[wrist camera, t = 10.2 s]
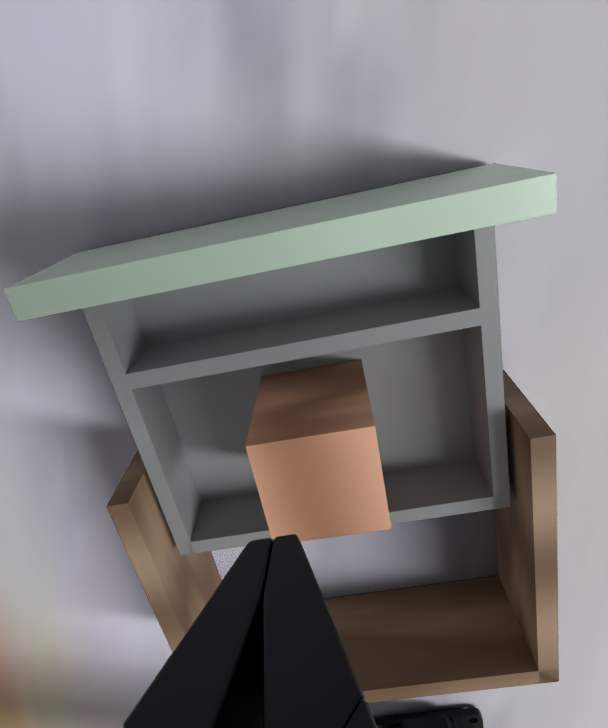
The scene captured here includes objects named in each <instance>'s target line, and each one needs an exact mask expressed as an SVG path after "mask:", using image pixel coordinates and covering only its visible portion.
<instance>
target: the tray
mask: <svg viewBox="0 0 608 728" xmlns="http://www.w3.org/2000/svg"><path fill="white" fill-rule="evenodd" d="M553 213H557V198H556V173H552V172H546V171H540V170H533V169H527V168H521V167H515V166H508V165H502V164H496V163H493V164H488V165H483V166H479V167H474V168H469V169H465V170H460V171H455V172H451V173H446V174H441V175H437V176H432V177H427V178H423V179H418V180H413V181H409V182H404V183H399V184H395V185H390V186H385V187H381V188H376V189H371V190H367V191H362V192H357V193H353V194H348V195H343V196H339V197H334V198H329V199H325V200H320V201H315V202H311V203H306V204H301V205H297V206H292V207H287V208H283V209H278V210H273V211H269V212H264V213H259V214H255V215H250V216H245V217H241V218H236V219H231V220H227V221H222V222H217V223H213V224H208V225H203V226H199V227H194V228H189V229H185V230H180V231H175V232H171V233H166V234H161V235H156V236H152V237H147V238H142V239H138V240H133V241H128V242H124V243H119V244H114V245H110V246H105V247H100V248H96V249H91V250H86V251H82V252H77V253H75V254H73V255H71V256H69V257H67V258H65V259H63V260H61V261H59V262H57V263H55V264H53V265H51V266H49V267H47V268H45V269H43V270H41V271H39V272H37V273H35V274H33V275H31V276H29V277H27V278H25V279H23V280H21V281H19V282H17V283H15V284H13V285H11V286H9V287H7V288H4V289H3V290H4V292H5V294H6V296H7V298H8V301H9V303H10V305H11V307H12V309H13V312H14V314H15V316H16V318H17V320H18V321H23V320H28V319H33V318H38V317H43V316H48V315H53V314H58V313H63V312H68V311H73V310H78V309H82V310H83V313H84V315H85V318H86V320H87V323H88V325H89V328H90V330H91V333H92V335H93V338H94V340H95V343H96V345H97V348H98V350H99V353H100V355H101V358H102V360H103V363H104V365H105V368H106V370H107V373H108V375H109V378H110V380H111V383H112V385H113V388H114V390H115V393H116V395H117V398H118V400H119V403H120V405H121V408H122V410H123V413H124V415H125V418H126V420H127V423H128V425H129V428H130V430H131V433H132V435H133V438H134V440H135V443H136V445H137V448H138V450H139V453H140V455H141V458H142V460H143V463H144V465H145V468H146V470H147V473H148V475H149V478H150V480H151V483H152V485H153V488H154V490H155V493H156V495H157V498H158V500H159V503H160V505H161V508H162V510H163V513H164V515H165V518H166V520H167V523H168V525H169V528H170V530H171V533H172V535H173V538H174V540H175V543H176V545H177V548H178V550H179V553H180V555H186V554H193V553H200V552H207V551H213V550H220V549H227V548H234V547H241V546H246V545H247V544H248V543H249V542H250V541H252V540H257V539H264V538H271V535H270V531H269V527H268V524H267V520H266V517H265V513H264V510H263V506H262V503H261V499H260V496H259V492H258V489H257V485H256V482H255V478H254V475H253V471H252V468H251V464H250V461H249V457H248V453H247V450H246V442H247V437H248V433H249V428H250V424H251V419H252V415H253V410H254V406H255V401H256V397H257V392H258V388H259V383H260V379H261V376H266V375H272V374H278V373H284V372H290V371H296V370H302V369H308V368H313V367H319V366H325V365H331V364H337V363H343V362H349V361H355V360H362V365H363V370H364V375H365V380H366V385H367V390H368V394H369V399H370V404H371V409H372V414H373V419H374V424H375V429H376V435H377V442H378V448H379V454H380V460H381V466H382V473H383V479H384V485H385V491H386V498H387V504H388V510H389V516H390V523H391V524H397V523H403V522H410V521H417V520H424V519H430V518H437V517H444V516H451V515H458V514H464V513H471V512H478V511H485V510H492V509H498V508H505V507H510V490H509V472H508V454H507V437H506V419H505V401H504V384H503V366H502V348H501V331H500V313H499V295H498V278H497V260H496V243H495V225H498V224H503V223H508V222H513V221H518V220H523V219H528V218H533V217H538V216H543V215H548V214H553Z"/></svg>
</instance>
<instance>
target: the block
mask: <svg viewBox="0 0 608 728" xmlns="http://www.w3.org/2000/svg"><path fill="white" fill-rule="evenodd" d="M246 450H247V453H248V457H249V461H250V464H251V468H252V471H253V475H254V478H255V482H256V485H257V489H258V492H259V496H260V499H261V503H262V506H263V510H264V513H265V517H266V520H267V524H268V527H269V531H270V535H271V538H272V539H273V540H274V539H275V538H276V537H278V536H284V535H291V534H296V535H297V536H298V537H299V540H300V541H307V540H314V539H321V538H329V537H336V536H343V535H351V534H358V533H365V532H373V531H380V530H387V529H391V523H390V516H389V510H388V504H387V498H386V491H385V485H384V479H383V473H382V466H381V460H380V454H379V448H378V442H377V435H376V429H375V424H374V419H373V414H372V409H371V404H370V399H369V394H368V390H367V385H366V380H365V375H364V370H363V365H362V360H355V361H349V362H343V363H337V364H331V365H325V366H319V367H313V368H308V369H302V370H296V371H290V372H284V373H278V374H272V375H266V376H261V379H260V383H259V388H258V392H257V397H256V401H255V406H254V410H253V415H252V419H251V424H250V428H249V433H248V437H247V442H246Z"/></svg>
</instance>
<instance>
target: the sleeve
mask: <svg viewBox="0 0 608 728" xmlns="http://www.w3.org/2000/svg"><path fill="white" fill-rule="evenodd" d="M503 384H504V401H505V419H506V437H507V454H508V472H509V490H510V507H505V508H498V509H494V516H495V530H496V543H497V557H498V571H499V576H493V577H485V578H478V579H470V580H463V581H455V582H448V583H441V584H433V585H426V586H418V587H411V588H403V589H396V590H388V591H381V592H374V593H366V594H359V595H351V596H344V597H336V598H329V599H324V600H325V602H326V605H327V607H328V610H329V612H330V615H331V617H332V619H333V622H334V624H335V627H336V629H337V631H338V634H339V636H340V639H341V641H342V644H343V646H344V648H345V651H346V653H347V656H348V658H349V661H350V663H351V665H352V668H353V670H354V673H355V675H356V677H357V680H358V682H359V685H360V687H361V690H362V692H363V694H364V697H365V701H366V702H367V703H371V702H380V701H389V700H398V699H406V698H415V697H424V696H433V695H442V694H451V693H460V692H468V691H477V690H486V689H495V688H504V687H513V686H522V685H530V684H539V683H548V682H557V681H559V664H558V575H557V486H556V434H555V433H554V432H553V431H552V429H551V428H550V427H549V426H548V424H547V423H546V422H545V421H544V419H543V418H542V417H541V416H540V414H539V413H538V412H537V411H536V409H535V408H534V407H533V406H532V404H531V403H530V402H529V401H528V399H527V398H526V397H525V396H524V394H523V393H522V392H521V391H520V389H519V388H518V387H517V386H516V384H515V383H514V382H513V381H512V379H511V378H510V377H509V376H508V375H507V373H506V372H505V371H504V370H503ZM107 509H108V511H109V513H110V515H111V518H112V520H113V522H114V524H115V527H116V529H117V531H118V533H119V535H120V538H121V540H122V542H123V544H124V546H125V549H126V551H127V553H128V555H129V557H130V560H131V562H132V564H133V566H134V568H135V571H136V573H137V575H138V577H139V579H140V582H141V584H142V586H143V588H144V591H145V593H146V595H147V597H148V599H149V602H150V604H151V606H152V608H153V610H154V613H155V615H156V617H157V619H158V621H159V624H160V626H161V628H162V630H163V632H164V635H165V637H166V639H167V641H168V643H169V646H170V648H171V650H172V652H173V651H174V650H175V648H176V647H177V645H178V644H179V643H180V641H181V640H182V638H183V637H184V635H185V634H186V632H187V631H188V629H189V628H190V627H191V625H192V624H193V622H194V621H195V619H196V618H197V616H198V615H199V613H200V612H201V611H202V609H203V608H204V606H205V605H206V603H207V602H208V600H209V599H210V597H211V596H212V595H213V593H214V592H215V590H216V589H217V587H218V586H219V584H220V583H221V578H220V575H219V572H218V570H217V567H216V564H215V562H214V559H213V556H212V553H211V551H207V552H200V553H193V554H186V555H180V553H179V550H178V548H177V545H176V543H175V540H174V538H173V535H172V533H171V530H170V528H169V525H168V523H167V520H166V518H165V515H164V513H163V510H162V508H161V505H160V503H159V500H158V498H157V495H156V493H155V490H154V488H153V485H152V483H151V480H150V478H149V475H148V473H147V470H146V468H145V465H144V463H143V460H142V458H141V455H140V453H139V450H138V451H137V453H136V455H135V457H134V459H133V460H132V462H131V464H130V466H129V467H128V469H127V471H126V473H125V475H124V476H123V478H122V480H121V482H120V484H119V485H118V487H117V489H116V491H115V492H114V494H113V496H112V498H111V500H110V501H109V503H108V505H107Z"/></svg>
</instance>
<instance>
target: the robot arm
mask: <svg viewBox="0 0 608 728" xmlns="http://www.w3.org/2000/svg"><path fill="white" fill-rule="evenodd" d="M123 727H124V728H483V719H482V716H481V712H480V710H478V709H476V708H466V709H457V710H447V711H438V712H429V713H420V714H411V715H402V716H393V717H384V718H376V719H374V718H373V715H372V713H371V711H370V708H369V706H368V703H367V702H366V701H365V697H364V694H363V692H362V690H361V687H360V685H359V682H358V680H357V677H356V675H355V673H354V670H353V668H352V665H351V663H350V661H349V658H348V656H347V653H346V651H345V648H344V646H343V644H342V641H341V639H340V636H339V634H338V631H337V629H336V627H335V624H334V622H333V619H332V617H331V615H330V612H329V610H328V607H327V605H326V602H325V600H324V598H323V595H322V593H321V590H320V588H319V586H318V583H317V581H316V578H315V576H314V573H313V571H312V569H311V566H310V564H309V561H308V559H307V557H306V554H305V552H304V549H303V547H302V544H301V542H300V540H299V537H298V536H297V535H296V534H291V535H284V536H278V537H276V538H275V539H274V540H273V539H272V538H264V539H257V540H252V541H250V542H249V543H248V544H247V545H246V547H245V548H244V550H243V551H242V552H241V554H240V555H239V557H238V558H237V560H236V561H235V563H234V564H233V566H232V567H231V568H230V570H229V571H228V573H227V574H226V576H225V577H224V579H223V580H222V581H221V583H220V584H219V586H218V587H217V589H216V590H215V592H214V593H213V595H212V596H211V597H210V599H209V600H208V602H207V603H206V605H205V606H204V608H203V609H202V611H201V612H200V613H199V615H198V616H197V618H196V619H195V621H194V622H193V624H192V625H191V627H190V628H189V629H188V631H187V632H186V634H185V635H184V637H183V638H182V640H181V641H180V643H179V644H178V645H177V647H176V648H175V650H174V651H173V653H172V654H171V656H170V657H169V658H168V660H167V661H166V663H165V664H164V666H163V667H162V669H161V670H160V672H159V673H158V674H157V676H156V677H155V679H154V680H153V682H152V683H151V685H150V686H149V688H148V689H147V690H146V692H145V693H144V695H143V696H142V698H141V699H140V701H139V702H138V704H137V705H136V706H135V708H134V709H133V711H132V712H131V714H130V715H129V717H128V718H127V720H126V721H125V722H124V725H123Z"/></svg>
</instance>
